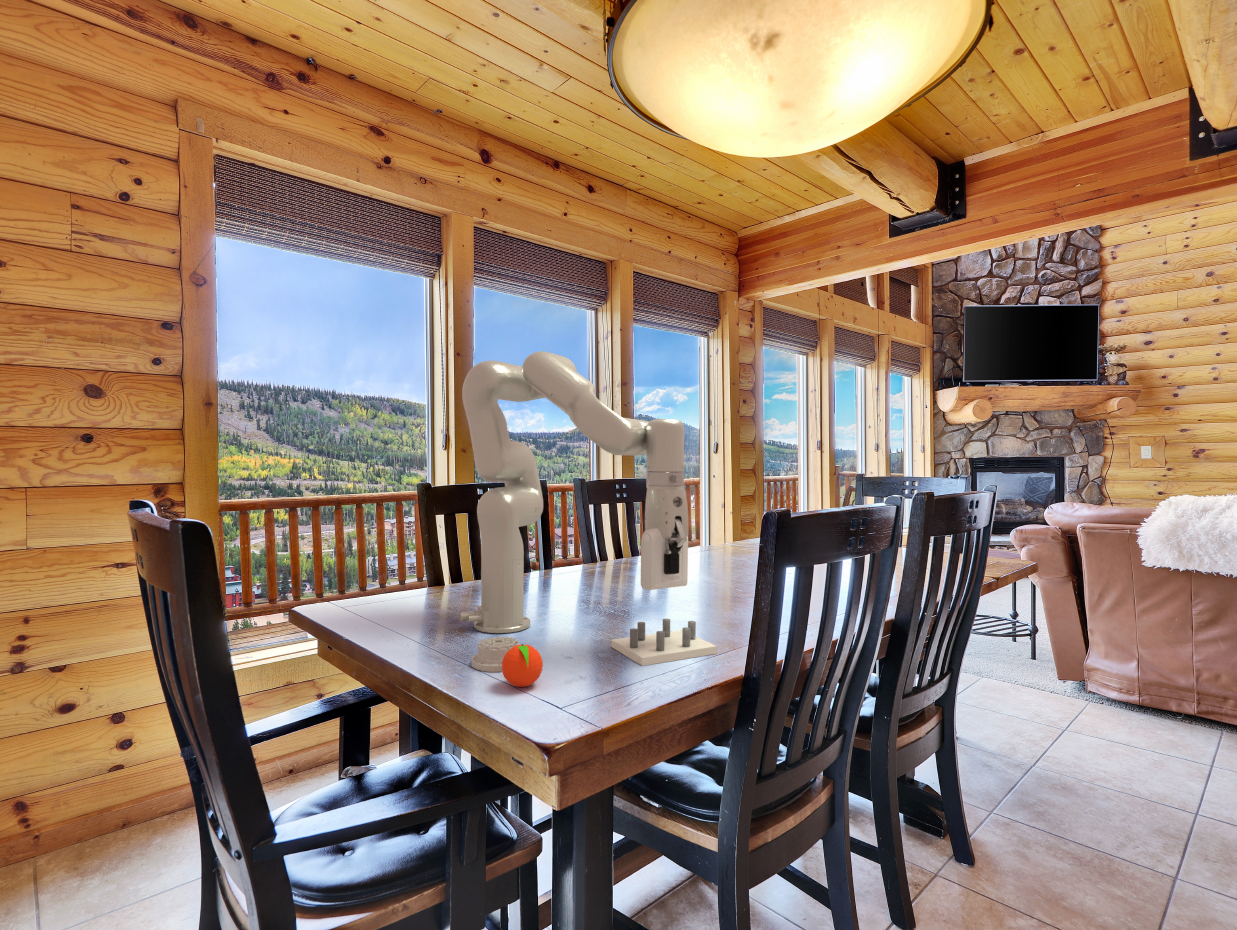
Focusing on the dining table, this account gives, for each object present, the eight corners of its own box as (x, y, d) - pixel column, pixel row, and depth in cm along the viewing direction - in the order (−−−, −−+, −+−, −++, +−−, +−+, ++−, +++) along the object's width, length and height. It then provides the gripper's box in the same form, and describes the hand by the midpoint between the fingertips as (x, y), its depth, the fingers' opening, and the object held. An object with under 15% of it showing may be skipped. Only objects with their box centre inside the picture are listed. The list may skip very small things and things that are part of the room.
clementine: (548, 692, 107) (549, 650, 107) (506, 697, 105) (507, 654, 104) (537, 676, 115) (537, 636, 114) (498, 681, 112) (498, 640, 112)
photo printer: (677, 582, 135) (678, 523, 135) (690, 586, 131) (691, 525, 131) (637, 588, 129) (637, 526, 129) (649, 592, 126) (650, 528, 125)
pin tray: (642, 665, 121) (642, 639, 121) (611, 647, 132) (611, 622, 132) (716, 653, 129) (717, 628, 128) (681, 636, 140) (681, 613, 140)
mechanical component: (459, 667, 120) (499, 677, 115) (460, 643, 120) (500, 652, 115) (497, 653, 128) (536, 662, 123) (497, 631, 128) (536, 639, 123)
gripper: (704, 482, 124) (704, 577, 124) (659, 479, 139) (659, 563, 139) (671, 483, 121) (670, 580, 121) (628, 479, 136) (628, 566, 136)
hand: (664, 570), depth 130 cm, fingers closed on photo printer, 4 cm apart
